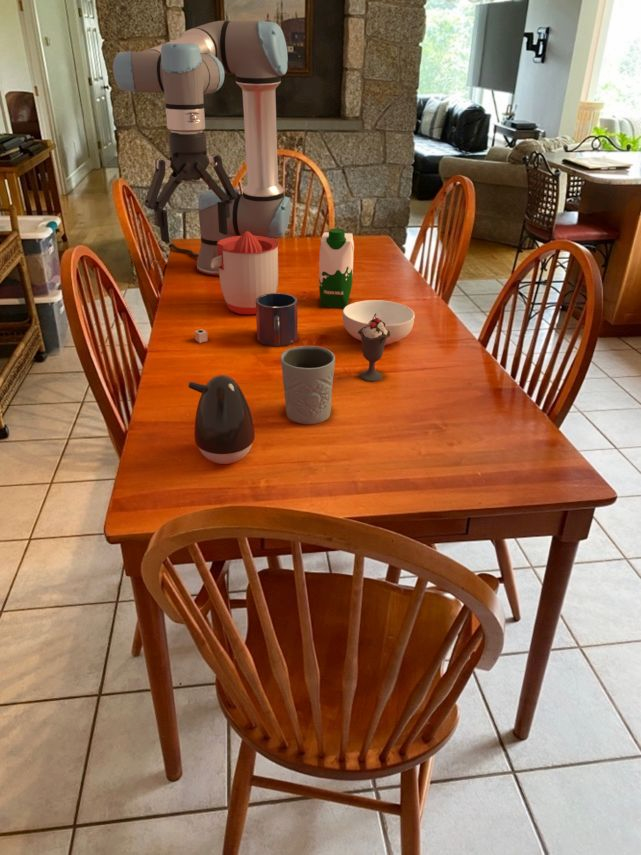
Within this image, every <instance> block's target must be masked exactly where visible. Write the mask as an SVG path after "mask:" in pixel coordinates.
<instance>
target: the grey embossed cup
mask: <svg viewBox="0 0 641 855" xmlns="http://www.w3.org/2000/svg"><path fill="white" fill-rule="evenodd" d="M280 365H281V366H280V367H281V374H282V383H283V390H284V402H285V412H286V416H287V418H288V419H289V420H291V422H294V423H298V424H302V425H317V424H321V423H323V422H325V421H327V420H328V419H329V417H330V416H331V413H332V396H333V385H334V384H333V383H334V376H335V375H334V374H335V366H336V356H335V354H334V353H333V351H331V350H329V349H328V348H325V347H321V346H315V345H301V346H295V347H291V348H288V349H286V350H285V351H283V352H282V353H281V355H280Z"/></svg>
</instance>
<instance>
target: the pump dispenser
mask: <svg viewBox="0 0 641 855" xmlns="http://www.w3.org/2000/svg"><path fill="white" fill-rule="evenodd" d="M188 388H189V389H191V390H193V391H196V392H199V393H200V397H199V400H198V403H197V406H196V410H195V416H194V417H195V418H194V428H193V429H194V430H193V432H194V433H193V436H194V442H195V445H196V446H197V447H198V450H199V452H201V454H202V456H203V457H205V458H206V459H207V460H209V461H210V462H212V463H214V464H219V465H220V464H221V465H223V464H224V465H227V464H233V463H236V462H238V461H240V460H242V459H243V458H245V457H246V456H247V454H248V453H249V452H250V450H251V448H252V446H253V443H254V441H255V438H256V432H255V430H256V429H255V425H254V420H253V415H252V411H251V408H250V405H249V403H248V400H247V398H246V396H245V394H244V392H243V390H242V389H241V387H240V385H239V384H238V383H237V382H236V381H235V380H234V378H232V377H230V376H228V375H224V374H220V375H215V376H213V377H211V378H210V379H209V380H208V381H207V383H206V384H202V383H198V382H194V381H189V383H188Z"/></svg>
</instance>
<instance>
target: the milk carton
mask: <svg viewBox="0 0 641 855" xmlns="http://www.w3.org/2000/svg"><path fill="white" fill-rule="evenodd" d="M353 237H354V236H353V233H352V232H350V233H349V232H346V231H345V229H342V228H329V230H328V232H327V231H326V232H325V231H323V234H322V235H321V240H320V244H319V257H318V258H319V259H318V260H319V261H318V262H319V264H318V265H319V266H318V267H319V268H318V273H319V274H318V292H319V298H320V299H319V300H320V308H331V309H344V308H345V307H346V306H347V305H349V301H350V296H351V293H352V288H353V279H354V278H353V276H354V251H355V242H354V238H353Z"/></svg>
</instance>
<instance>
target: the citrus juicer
mask: <svg viewBox="0 0 641 855" xmlns="http://www.w3.org/2000/svg"><path fill="white" fill-rule="evenodd" d="M279 245H280V243H279V242H278V241H277V240H276V239H275V238H269V237H264V236H253V235H252V234H251V233H250V232H248V231H246V232H245V233H244V234H243V235H242V236H234V237H229V238H225V239H222V240H220V241H219V242H218V243H217V253H218V257H215V258H213V259H212V262H211V268H217V267H219V276H218V277H219V284H220V288H221V292H222V295H223V298H224V302H225V305H226V306H227V308H228V309H229V311H231V312H233V313H236V314H238V315H256V298H258V297H259V296H261V295H264V294H269V293H278V286H279Z"/></svg>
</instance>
